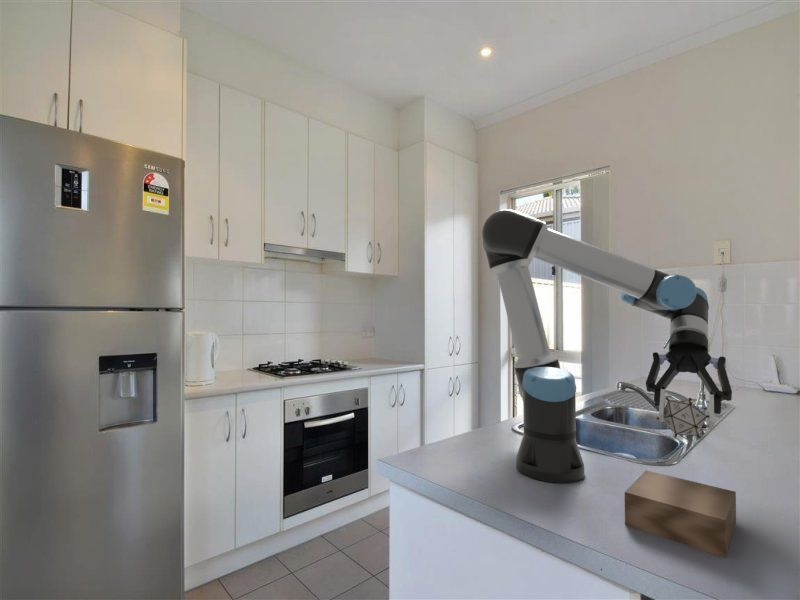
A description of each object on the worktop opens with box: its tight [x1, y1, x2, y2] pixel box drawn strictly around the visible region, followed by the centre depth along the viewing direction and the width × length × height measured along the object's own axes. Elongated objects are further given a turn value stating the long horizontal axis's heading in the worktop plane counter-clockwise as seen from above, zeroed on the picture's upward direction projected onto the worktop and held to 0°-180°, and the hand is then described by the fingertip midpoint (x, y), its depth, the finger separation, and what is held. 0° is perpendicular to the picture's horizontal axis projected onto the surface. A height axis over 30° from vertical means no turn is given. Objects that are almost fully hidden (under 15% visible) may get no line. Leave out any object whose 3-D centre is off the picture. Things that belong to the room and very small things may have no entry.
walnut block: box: [624, 470, 737, 559], centre depth 72 cm, size 14×14×6 cm
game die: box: [655, 397, 709, 440], centre depth 87 cm, size 9×8×10 cm
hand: (685, 421), depth 84 cm, fingers closed on game die, 8 cm apart
